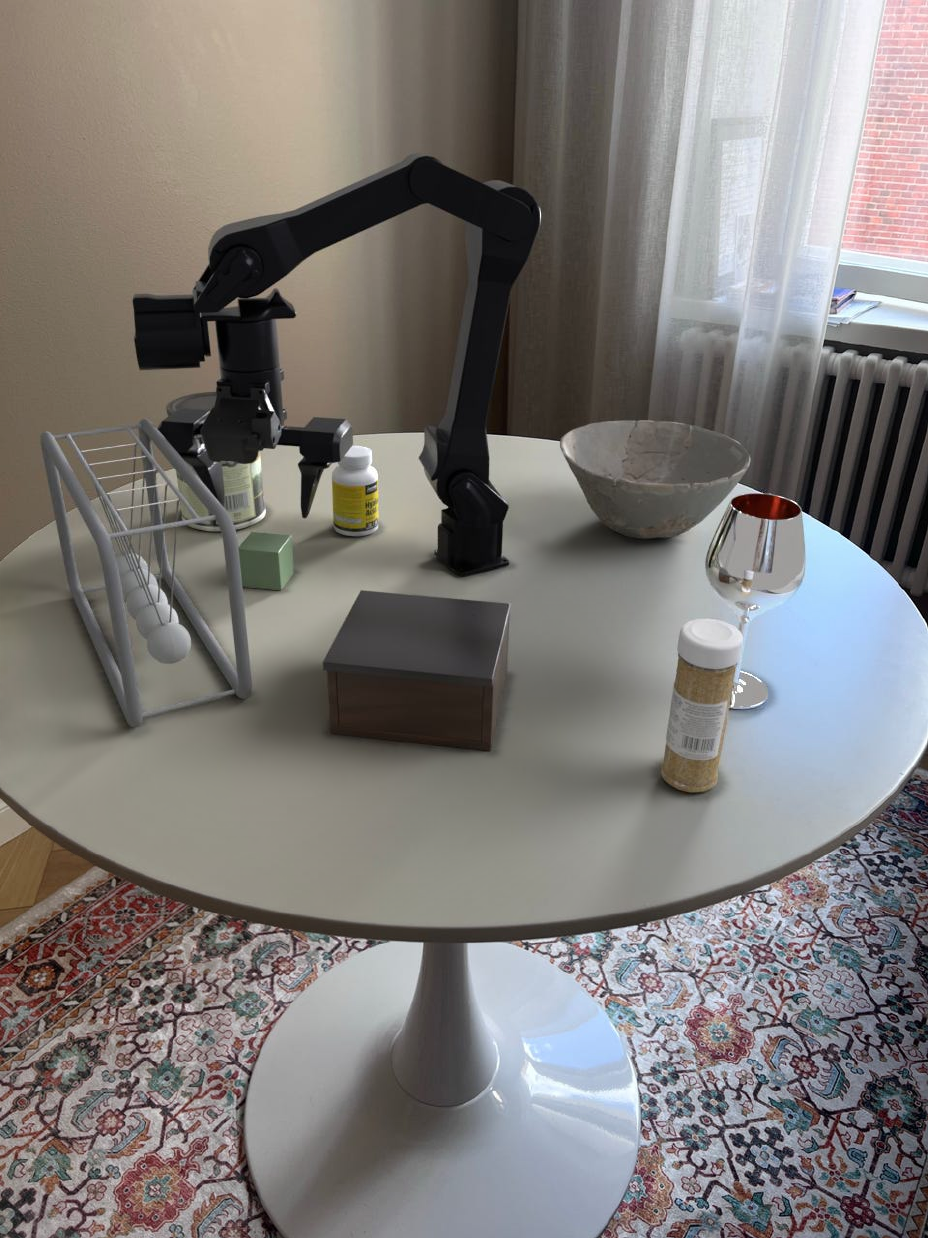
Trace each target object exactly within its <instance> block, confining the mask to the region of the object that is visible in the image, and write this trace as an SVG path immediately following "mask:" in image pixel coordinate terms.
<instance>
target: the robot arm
mask: <svg viewBox="0 0 928 1238" xmlns="http://www.w3.org/2000/svg"><path fill="white" fill-rule="evenodd" d="M425 204H426V205H427V204H429V205H431V206H433V207H435V208H437V209H440V210H442V211H444V212H445V213H448V214H450V215H452V216H454V217H456V218H458V219H461V220H463V221H465V223H464V224H465V225H464V227H465V228H464V234H465V237H464V243H465V244H464V245H465V252H466V261H467V269H468V270H467V271H468V281H467V286H466V293H465V298H464V305H463V309H462V310H463V312H462V316H461V322H460V328H459V334H458V340H457V346H456V350H455V351H456V352H455V357H454V363H453V369H452V375H451V381H450V386H449V392H448V398H447V404H446V409H445V413H444V415H443V416H442V418H441V420H440V422H439V424H438V425H437V427H435V426H431V425H429V424H426V425H425V426H424V431H423V432H424V433H423V434H424V437H423V438H424V440H423V447H422V451H421V453H420V455H419V456H418V460H419V462H420V463H421V465H422V467H423V472H424V475H425V477H426V479H427V481H428V482H429V484H430V486H431V488H432V489H433V490H434V491H433V492H434V493H435V494H436V496H437V498H438V499H439V500H440V502H442V504H443V505H445V507H447V508H443V509H441V511H440V513H441V515H440V516H441V517H440V520H441V522H440V523H438V525H437V548H436V549H435V550H433V555H434V556H435V557H436V558H437V559H438V560H439V561H441V562H442V563H443V564H444V565H445V566H447V567H448V568H449V569H450V570H452V571H453V572H454V574H456V575H457V576H459V577H465V576H469V575H473V574H478V573H482V572H487V571H490V570H494V569H495V570H496V569H500V568H503V567H507V566H509V565H510V560H509V559H508V558H507V557H505V556H504V555H503V537H504V536H503V535H504V521H505V519H506V516H507V514H508V511H509V509H510V505H509V504H508V502H507V501H506V500H505V498H504V497H503V496H502V494H501V493H500V492H499V490H498V489H497V487H496V486H495V485H494V484H493V482H492V480H491V479H490V450H489V441H488V432H487V421H488V416H489V411H490V407H491V400H492V396H493V390H494V384H495V378H496V374H497V369H498V363H499V358H500V353H501V347H502V342H503V339H504V338H503V337H504V332H505V327H506V321H507V316H508V311H509V305H510V302H511V301H510V300H511V295H512V291H513V288H514V285H515V283H516V282H517V279H518V278H519V276H520V275H521V273H522V272H523V270H524V268H525V266H526V265H527V263H528V262H529V259H530V256H531V253H532V251H533V248H534V245H535V242H536V240H537V237H538V235H539V232H540V228H541V224H542V213H541V207H540V206H539V204H538V203H537V201H536V199H535V197H534V195H532V194H531V193H530V192H529V191H528V190H526V189H524V188H521V187H519V186H516V185H515V184H511V183H509V182H505V181H503V180H501V179H491V180H488V181H485V182H480V181H478V180H477V179H475V178H472V177H471V176H468V175H466V174H464V173H462V172H459V171H458V170H456V169H454V168H451V167H449V166H448V165H445V164H443V163H442V161H441V160H439V159H438V158H436V157H435V156H432V155H429V154H428V153H423V152H414V153H410V154H409V155H407V156H406V157H404V159H403V160H401V161H399V162H398V163H395V164H393V165H391V166H389V167H386V168H384V169H382V170H380V171H378V172H376V173H374V174H370V175H369V176H367V177H364V178H363V179H360V180H357V181H355V182H353V183H351V184H349V185H347V186H344V187H342V188H340V189H338V190H335V191H333V192H331V193H329V194H326V195H325V196H323V197H320V198H318V199H316V200H313V201H311V202H309V203H307V204H305V205H302V206H300V207H298V208H296V209H293V210H289V211H285V212H280V213H272V214H267V215H259V216H255V217H251V218H247V219H242V220H239V221H235V222H231V223H228V224H224V225H223V226H222V227H220V228H218V229H217V230H216V231H215V232H214V233H213V235H212V236H211V239H210V242H209V244H208V249H207V251H208V252H207V255H208V256H207V258H208V264H207V266H206V268H205V269H204V270H203V272H202V274H201V276H200V277H199V279H198V280H196V281H195V284H194V286H193V288H192V294H164V295H163V294H161V295H160V294H159V295H157V294H151V293H134V294H133V296H132V299H131V300H132V307H133V320H134V329H135V331H134V337H133V341H134V348H135V355H136V362H137V366H138V369H139V371H156V370H157V371H159V370H177V369H178V370H179V369H199V368H200V369H201V363H202V362H203V363H204V362H206V358H207V357H212V354H211V352H212V351H211V342H210V341H211V340H210V332H209V324H208V322H214V324H215V325H214V326H215V335H216V344H217V355H218V364H219V372H220V373H219V374H220V378H218V379H217V380H216V387H215V392H216V394H217V397H216V401H215V406H214V407H213V408H212V409H211V410H202V409H187V408H179V409H178V410H176V411H175V412H174V413H172V414H171V415H170V416H168V415H167V417H165V418H164V419H163V420H161V422H160V423H159V424H158V426H157V429H158V430H159V431H160V433H161V434H162V435H163V436H164V437H165V439H166V440H167V441H168V442H169V443H170V444H171V446H172V447H173V448H174V449H175V450H176V452H177V453H178V454H179V455H180V456H181V457H182V459H183V460H184V461H185V462H187V463H188V464H190V465H191V466H192V467H193V468H194V470H195V471H196V473H197V474H198V476H199V477H200V479H201V481H202V482H203V483H204V485H205V486H206V487H207V488H208V489H209V491H210V492H211V493H212V494H213V495H214V496H215V498H216V499H217V500H218V501H219V502H220V504H221V505H222V506H223V507H224V501H225V491H224V481H223V470H222V461H232V462H238V463H240V464H249V463H252V462H254V461H255V460H256V459H257V457H258V452H259V451H260V452H262V451H264V449H265V450H266V449H268V450H275V449H276V448H277V446H283V447H284V446H286V447H298V449H299V454H300V455H301V456H302V459H300V461H299V462H298V463H297V467H298V469H299V472H300V513H301V518H302V519H307V518H308V516H309V515H310V511H311V508H312V506H313V502H314V499H315V496H316V493H317V490H318V487H319V483H320V480H321V478H322V475H323V473H324V470H326V469H329V468H330V467H331V465H332V464H336V463H338V462H340V461H341V460H342V458H343V457H344V456H345V454H346V453H347V452H348V451H349V449H350V448H351V447H352V446H354V432H353V427H352V424H350V422H349V421H348V420H347V419H346V418H335V417H322V416H321V417H319V416H313V417H312V418H311V419H310V421H308V423H306V425H305V426H291V425H290V426H289V425H285V421H286V420H287V419H288V414H287V412H288V411H287V408H284V405H283V404H284V403H283V392H282V391H283V390H282V381H284V380H285V369H284V368H281V365H280V353H279V352H280V351H279V337H278V324H277V323H278V322H277V320H286V319H287V320H288V319H291V320H292V319H295V318H296V317H297V311H296V309H295V307H294V304H293V303H291V302H289V300H287V299H286V298H285V297H284V296H283V295H282V294H281V292H280V290H279V289H278V288H277V287H275V288H273V289H272V291H271V292H270V293H269V294H268V295H267V296H265V297H257V296H260V295H261V294H262V293H264V292H266V291H267V290H268V289H269V288H272V286H274V285H275V284H276V283H278V282H279V281H281V280H282V279H284V278H285V277H287V276H288V275H289V274H291V272H293V271H294V270H295V269H296V268H298V266H299V265H301V264H302V263H303V262H304V261H305V260H307V259H308V258H310V257H311V256H312V255H314V254H316V253H317V252H320V251H322V250H324V249H326V248H329V247H331V246H334V245H335V244H337V243H339V242H342V241H344V240H346V239H348V238H351V237H353V236H355V235H357V234H359V233H362V232H364V231H366V230H369V229H371V228H373V227H375V226H378V225H379V224H382V223H384V222H386V221H388V220H391V219H393V218H395V217H397V216H399V215H402V214H404V213H406V212H408V211H410V210H412V209H413V210H414V209H415V208H417V207H419V206H421V205H425ZM235 300H237V306H230V307H228V305H230V304H231V303H233V302H234V301H235ZM205 357H206V358H205Z"/></svg>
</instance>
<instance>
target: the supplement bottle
mask: <svg viewBox="0 0 928 1238" xmlns="http://www.w3.org/2000/svg"><path fill="white" fill-rule="evenodd" d="M372 454H373V453H372V449H370V448H369V447H366V446H361V445H352V447H351V448H350V449H349V451H348V452H347V453H346V454H345V456H344V457H343V458H342V460H341V461H340V462H337V466H336V467H335V468H334V469H333V470H332V472H331V492H332V521H333V528H334V530H335V531H336V532H337V533H338V534H340V535H343V536H348V537H365V536H370V535H371V534H373V533H375V532H376V531H377V530H378V528H379V474H378V471H377V470H376V468H375V467H373V466H372V463H373V455H372Z"/></svg>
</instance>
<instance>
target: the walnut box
mask: <svg viewBox="0 0 928 1238" xmlns="http://www.w3.org/2000/svg"><path fill="white" fill-rule="evenodd" d="M510 618H511V613H510V614H509V618H508V622H507V626H506V631H505V635H504V639H503V643H502V648H501V652H500V656H499V660H498V665H497V669H496V673H495V677H494V682H493V686H492V687H484V686H474V685H464V684H455V683H445V682H435V681H425V680H415V679H405V678H395V677H385V676H376V675H366V674H356V673H346V672H336V671H326V679H327V680H326V681H327V696H328V697H327V698H328V699H327V700H328V715H329V716H328V717H329V725H330V726H329V733H330V734H332V735H341V736H352V737H360V738H369V739H377V740H378V739H380V740H388V741H396V742H406V743H414V744H422V745H423V744H426V745H433V746H443V747H450V748H451V747H452V748H460V749H470V750H478V751H479V750H480V751H488V752H490V751H491V750H492V747H493V744H494V743H493V742H494V737H495V733H496V727H497V725H498V724H497V723H498V719H499V714H500V710H501V706H502V700H503V695H504V691H505V686H506V683H507V682H506V681H507V677H508V663H509V661H508V660H509V643H510V641H509V639H510V622H511V620H510Z"/></svg>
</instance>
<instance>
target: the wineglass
mask: <svg viewBox="0 0 928 1238" xmlns="http://www.w3.org/2000/svg"><path fill="white" fill-rule="evenodd" d="M803 519H804V518H803V510H802V508H801V506H800V505H799V504H798V503H797V502H795V501H793V500H791V499H789V498H786V497H783V496H780V495H775V494H771V493H763V492H762V493H761V492H748V493H743V494H738V495H736V496H734V497H731V499H730V501H729V503H728V504H727V507H726V509H725V511H724V513H723V515H722V518H721V520H720V522H719V524H718V526H717V528H716V530H715V533H714V535H713V537H712V540H711V541H710V544H709V547H708V550H707V553H706V556H705V561H704V569H705V575H706V578H707V579H706V580H707V581H708V583H709V585H710V587H711V588H712V590H713V592H714V593H715V594H716V595H717V597H718V598H719V599H720V600H721V601H722V602H723V603H724V604H725V605H727V606H728V607H729V608H730V609H731V610H732V611H733V612H734V613H735V615H736V617H737V619H738V628H737V629H738V630H739V631H740V632H741V634H742V637H743V644H742V651H741V657H740V660H739V661H738V665H737V666H736V668H735V674H734V682H733V688H732V694H731V700H730V706H729V709H733V710H749V709H754V708H758V707H760V706H762V705H763V704H764V703H766V701H767V699H768V696H769V691H768V688H767V686H766V685H765V683H764V682H763V681H761V680H760V679H759V678H758V677H756V676H754V675H752V674H750V673H747V672H745V671H742V670H741V668H742V661H743V656H744V651H745V646H746V641H747V634H748V631H749V625H750V623H751V622H752V621H753V620H754V619H755V618H756V617H758V616H760V615H762V614H765V613H767V612H769V611H771V610H774V609H776V608H778V607H780V606H782V605H783V604H784V603H787V602H788V601H790V599H791V598H792V597H794V595H796V593H797V592H798V591H799V590H800V587H801V586H802V585H803V582H804V579H805V574H806V542H805V530H804V520H803Z"/></svg>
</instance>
